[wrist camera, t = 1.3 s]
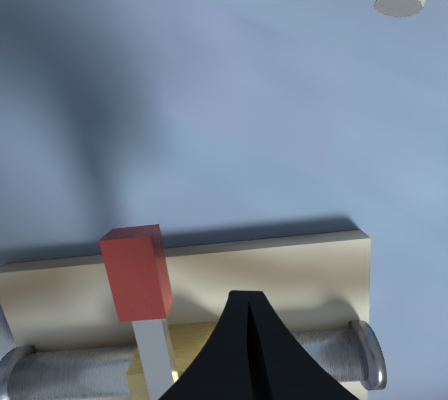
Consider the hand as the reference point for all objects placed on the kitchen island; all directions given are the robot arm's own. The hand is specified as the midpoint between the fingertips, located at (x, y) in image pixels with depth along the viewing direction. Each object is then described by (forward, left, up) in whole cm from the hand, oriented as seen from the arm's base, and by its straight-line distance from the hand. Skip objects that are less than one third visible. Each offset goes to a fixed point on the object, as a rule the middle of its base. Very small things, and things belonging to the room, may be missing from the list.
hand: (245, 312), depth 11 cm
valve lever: (-3, +5, -2) cm, 6 cm away
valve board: (-8, +5, -9) cm, 13 cm away
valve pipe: (-8, +5, -9) cm, 13 cm away
